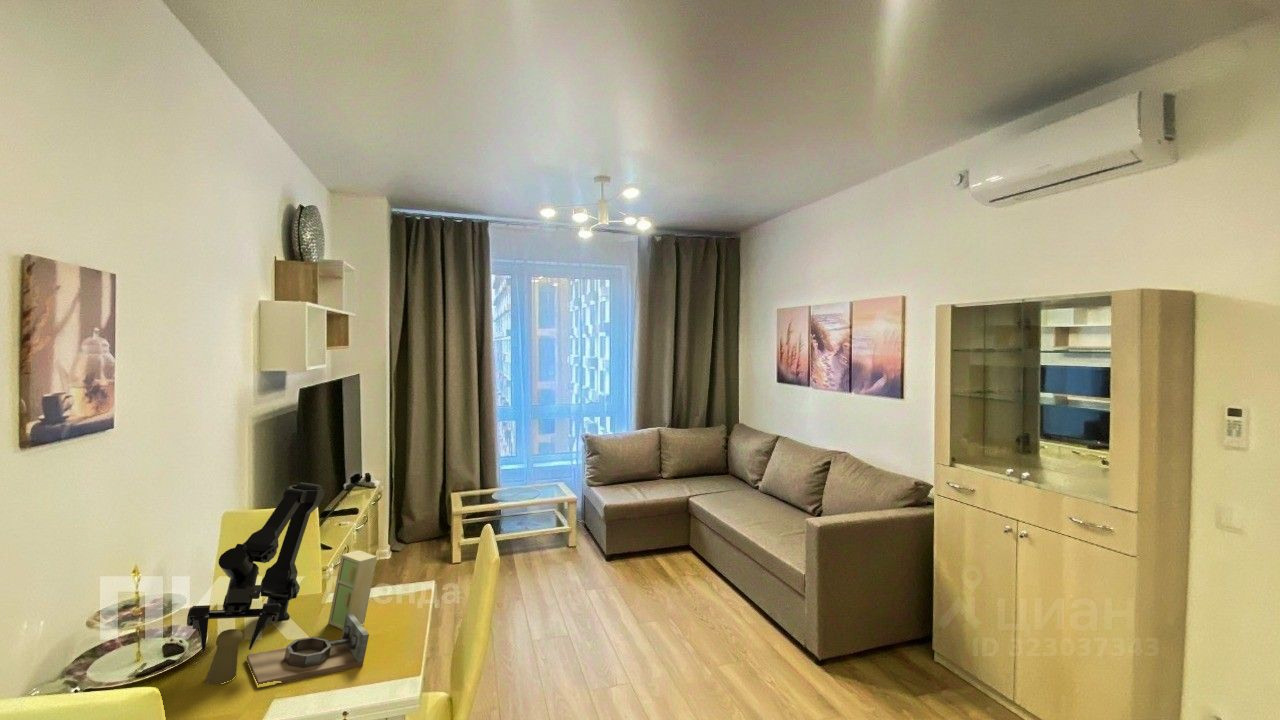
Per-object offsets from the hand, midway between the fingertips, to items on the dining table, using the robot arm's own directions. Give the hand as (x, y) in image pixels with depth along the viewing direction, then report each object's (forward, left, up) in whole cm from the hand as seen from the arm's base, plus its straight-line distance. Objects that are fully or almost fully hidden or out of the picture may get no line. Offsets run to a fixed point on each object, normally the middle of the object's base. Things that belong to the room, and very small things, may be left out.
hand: (226, 650), depth 133 cm
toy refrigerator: (-18, +33, -7) cm, 39 cm away
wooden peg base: (0, +18, -7) cm, 20 cm away
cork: (-1, 0, -7) cm, 7 cm away
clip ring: (0, +21, -6) cm, 22 cm away
